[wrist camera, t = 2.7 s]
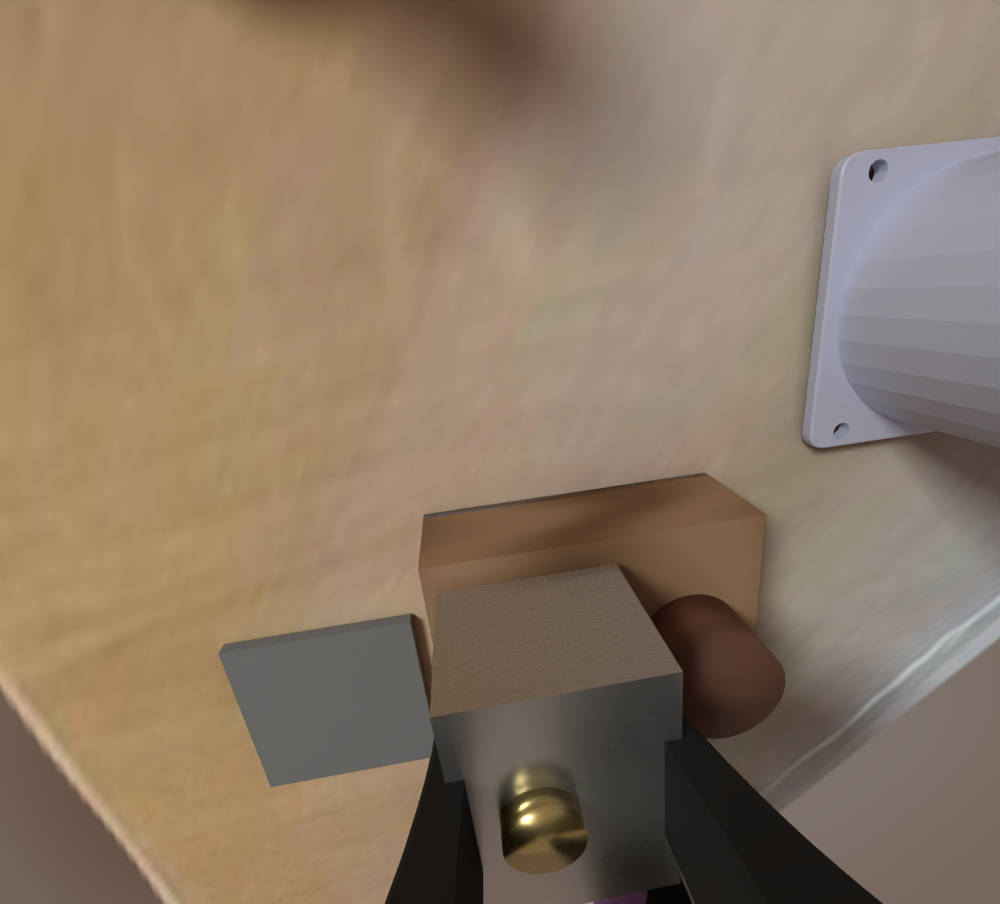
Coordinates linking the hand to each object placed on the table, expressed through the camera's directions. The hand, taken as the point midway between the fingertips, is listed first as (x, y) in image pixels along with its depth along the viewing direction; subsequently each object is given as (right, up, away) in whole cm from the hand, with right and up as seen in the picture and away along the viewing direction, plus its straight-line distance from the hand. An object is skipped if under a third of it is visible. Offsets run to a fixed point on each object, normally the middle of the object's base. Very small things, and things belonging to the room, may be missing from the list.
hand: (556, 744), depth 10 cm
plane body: (+1, +2, +5) cm, 6 cm away
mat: (-7, -2, +6) cm, 9 cm away
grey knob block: (0, +1, +2) cm, 2 cm away
